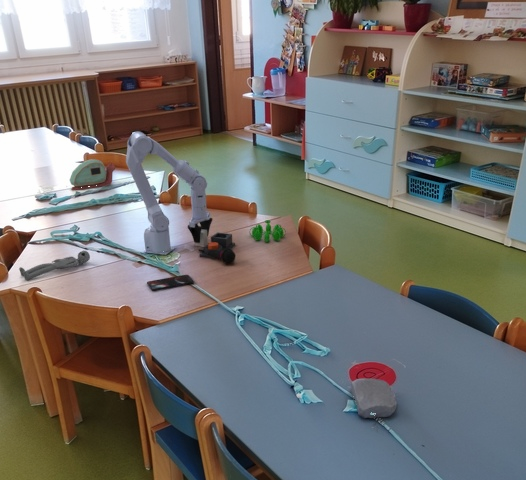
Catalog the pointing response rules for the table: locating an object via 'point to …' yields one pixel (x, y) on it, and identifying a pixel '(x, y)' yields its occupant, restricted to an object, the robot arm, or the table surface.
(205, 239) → the block
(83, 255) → the alien figure
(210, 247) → the power button
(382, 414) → the stone block
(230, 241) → the socket
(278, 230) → the chandelier
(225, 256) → the microphone
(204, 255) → the adapter
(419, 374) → the table surface
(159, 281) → the smartphone
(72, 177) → the toy snail
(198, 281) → the table surface
